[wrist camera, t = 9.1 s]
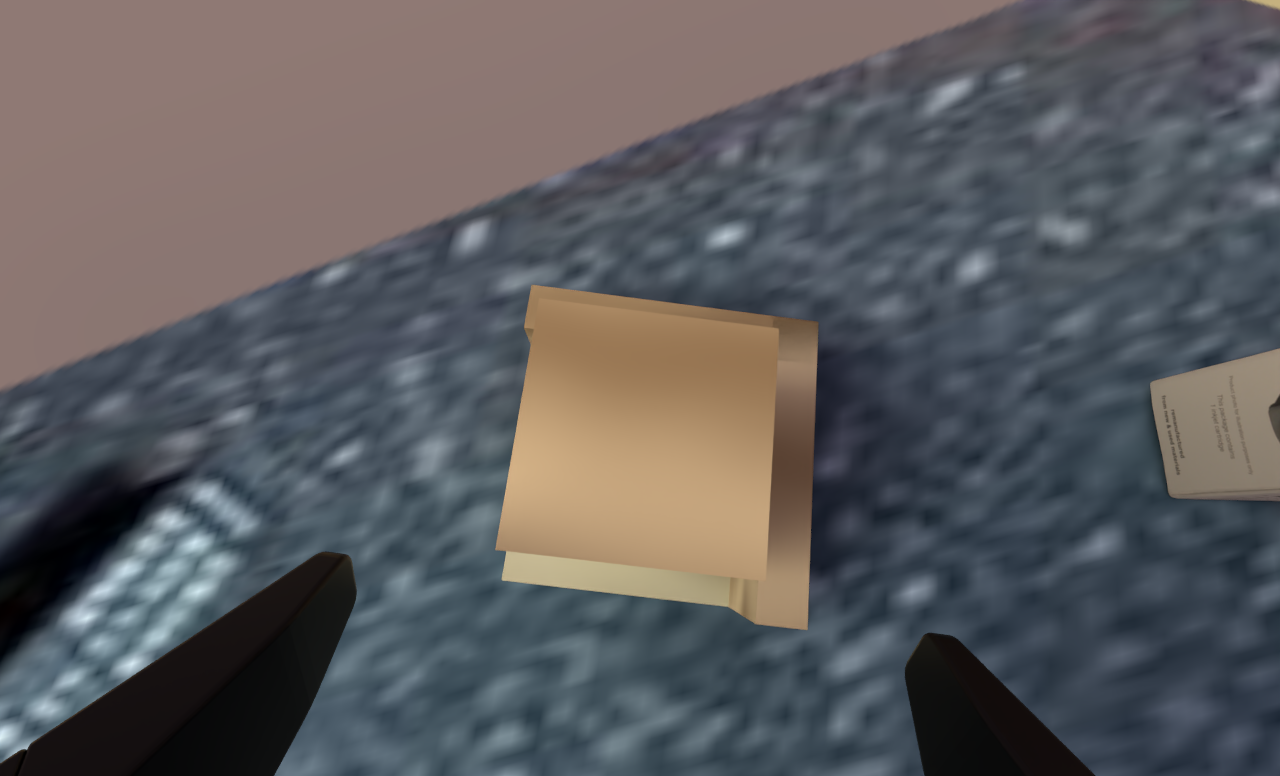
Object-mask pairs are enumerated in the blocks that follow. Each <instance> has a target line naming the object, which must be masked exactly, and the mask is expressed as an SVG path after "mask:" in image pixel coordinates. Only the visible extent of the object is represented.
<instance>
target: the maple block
mask: <svg viewBox="0 0 1280 776" xmlns="http://www.w3.org/2000/svg"><path fill="white" fill-rule="evenodd" d="M778 341H779V329H778V328H770V327H762V326H754V325H747V324H739V323H731V322H723V321H715V320H707V319H699V318H691V317H683V316H676V315H668V314H660V313H652V312H644V311H636V310H628V309H620V308H613V307H605V306H597V305H589V304H581V303H573V302H565V301H557V300H550V299H542V298H539V302H538V307H537V313H536V319H535V325H534V330H533V336H532V342H531V348H530V354H529V359H528V365H527V371H526V377H525V382H524V388H523V394H522V400H521V405H520V411H519V417H518V423H517V428H516V434H515V440H514V446H513V451H512V457H511V463H510V469H509V475H508V480H507V486H506V492H505V498H504V503H503V509H502V515H501V521H500V526H499V532H498V538H497V544H496V549H495V550H501V551H509V552H518V553H526V554H535V555H544V556H552V557H561V558H569V559H578V560H586V561H595V562H604V563H612V564H621V565H629V566H638V567H646V568H655V569H664V570H672V571H681V572H689V573H698V574H706V575H715V576H724V577H732V578H741V579H749V580H758V581H766V568H767V549H768V530H769V511H770V492H771V474H772V455H773V436H774V417H775V398H776V379H777V360H778Z"/></svg>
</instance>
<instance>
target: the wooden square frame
mask: <svg viewBox="0 0 1280 776" xmlns="http://www.w3.org/2000/svg"><path fill="white" fill-rule="evenodd" d="M539 298H542V299H550V300H557V301H565V302H573V303H581V304H589V305H597V306H605V307H613V308H620V309H628V310H636V311H644V312H652V313H660V314H668V315H676V316H683V317H691V318H699V319H707V320H715V321H723V322H731V323H739V324H747V325H754V326H762V327H770V328H778V329H779V341H778V360H777V379H776V398H775V417H774V436H773V455H772V474H771V492H770V511H769V530H768V549H767V568H766V581H758V580H749V579H741V578H732V577H724V576H715V575H706V574H698V573H689V572H681V571H672V570H664V569H655V568H646V567H638V566H629V565H621V564H612V563H604V562H595V561H586V560H578V559H569V558H561V557H552V556H544V555H535V554H526V553H518V552H509V551H507V552H506V558H505V564H504V570H503V575H502V580H504V581H513V582H521V583H530V584H538V585H547V586H555V587H564V588H572V589H581V590H589V591H598V592H606V593H615V594H623V595H632V596H640V597H649V598H657V599H666V600H674V601H683V602H691V603H700V604H708V605H717V606H726V607H729V608H731V609H733V610H734V611H736V612H737V613H739V614H741V615H742V616H744V617H745V618H747V619H748V620H750V621H752V622H753V623H755V624H759V625H768V626H777V627H785V628H794V629H802V630H807V627H808V599H809V571H810V543H811V515H812V487H813V459H814V431H815V403H816V375H817V347H818V322H815V321H807V320H800V319H792V318H784V317H776V316H769V315H761V314H753V313H745V312H738V311H730V310H722V309H714V308H707V307H699V306H691V305H684V304H676V303H668V302H660V301H653V300H645V299H637V298H629V297H622V296H614V295H606V294H598V293H591V292H583V291H575V290H567V289H560V288H552V287H544V286H536V285H532V286H531V292H530V298H529V303H528V309H527V314H526V320H525V325H524V329H525V331H526V334H527V336H528V338H529V341H530V343H531V342H532V336H533V330H534V325H535V319H536V313H537V307H538V302H539Z"/></svg>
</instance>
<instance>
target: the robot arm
mask: <svg viewBox="0 0 1280 776" xmlns="http://www.w3.org/2000/svg"><path fill="white" fill-rule="evenodd" d="M356 594H357V589H356V583H355V577H354V571H353V565H352V560H351V558H350V557H349V556H348V555H346V554H341V553H334V552H321V553H318V554H316V555H314V556H313V557H311V558H310V559H308V560H307V561H305V562H304V563H302V564H301V565H299V566H298V567H296V568H295V569H293V570H292V571H290V572H289V573H287V574H286V575H284V576H283V577H281V578H280V579H278V580H277V581H275V582H274V583H272V584H271V585H269V586H268V587H266V588H265V589H263V590H262V591H260V592H259V593H257V594H256V595H254V596H253V597H251V598H250V599H248V600H247V601H245V602H244V603H242V604H240V605H239V606H237V607H236V608H234V609H233V610H231V611H230V612H228V613H227V614H225V615H224V616H222V617H221V618H219V619H218V620H216V621H215V622H213V623H212V624H210V625H209V626H207V627H206V628H204V629H203V630H201V631H200V632H198V633H197V634H195V635H194V636H192V637H191V638H189V639H188V640H186V641H185V642H183V643H182V644H180V645H179V646H177V647H176V648H174V649H173V650H171V651H170V652H168V653H167V654H165V655H164V656H162V657H161V658H159V659H158V660H156V661H155V662H153V663H151V664H150V665H148V666H147V667H145V668H144V669H142V670H141V671H139V672H138V673H136V674H135V675H133V676H132V677H130V678H129V679H127V680H126V681H124V682H123V683H121V684H120V685H118V686H117V687H115V688H114V689H112V690H111V691H109V692H108V693H106V694H105V695H103V696H102V697H100V698H99V699H97V700H96V701H94V702H93V703H91V704H90V705H88V706H87V707H85V708H84V709H82V710H81V711H79V712H78V713H76V714H75V715H73V716H72V717H70V718H69V719H67V720H65V721H64V722H62V723H61V724H59V725H58V726H56V727H55V728H53V729H52V730H50V731H49V732H47V733H46V734H44V735H43V736H41V737H40V738H38V739H37V740H35V741H34V742H32V743H31V744H30V745H29V747H28V749H27V750H26V749H23V750H20V751H18V752H17V753H15V754H14V755H12V756H11V757H9V758H8V759H6V760H5V761H3V762H2V763H0V776H274V775H275V773H276V771H277V769H278V767H279V766H280V764H281V762H282V760H283V758H284V756H285V755H286V753H287V751H288V749H289V747H290V745H291V743H292V742H293V740H294V738H295V736H296V734H297V732H298V731H299V729H300V727H301V725H302V723H303V721H304V719H305V717H306V715H307V713H308V712H309V710H310V708H311V706H312V703H313V701H314V699H315V697H316V694H317V692H318V690H319V688H320V685H321V683H322V680H323V678H324V676H325V673H326V671H327V669H328V666H329V664H330V661H331V659H332V657H333V654H334V652H335V650H336V647H337V645H338V642H339V640H340V638H341V635H342V633H343V631H344V628H345V626H346V623H347V621H348V619H349V616H350V614H351V612H352V609H353V607H354V604H355V600H356ZM905 680H906V686H907V691H908V696H909V701H910V706H911V711H912V716H913V721H914V726H915V731H916V736H917V741H918V746H919V751H920V756H921V761H922V766H923V771H924V775H925V776H1095V775H1094V774H1093V773H1092V772H1091V771H1090V770H1089V769H1088V768H1087V767H1086V766H1085V765H1084V764H1083V763H1082V762H1081V761H1080V760H1079V759H1078V758H1077V757H1076V756H1075V755H1074V754H1073V753H1072V752H1071V751H1070V750H1069V749H1068V748H1067V747H1066V746H1065V745H1064V744H1063V743H1062V742H1061V741H1060V740H1059V739H1058V738H1057V737H1056V736H1055V735H1054V734H1053V733H1052V732H1051V731H1050V730H1049V729H1048V728H1047V727H1046V726H1045V725H1044V724H1043V723H1042V722H1041V721H1040V720H1039V719H1038V718H1037V717H1036V716H1035V715H1034V714H1033V713H1032V712H1031V711H1030V710H1029V709H1028V708H1027V707H1026V706H1025V705H1024V704H1023V703H1022V702H1021V701H1020V700H1019V699H1018V698H1017V697H1016V696H1015V695H1014V694H1013V693H1012V692H1011V691H1010V690H1009V689H1008V688H1007V687H1006V686H1004V685H1003V684H1002V683H1001V682H1000V681H999V680H998V679H997V678H996V677H995V676H994V675H993V674H992V673H991V672H990V671H989V670H988V669H987V668H986V667H985V666H984V665H983V664H982V663H981V662H980V661H979V660H978V659H977V658H976V657H975V656H974V655H973V654H972V653H971V652H970V651H969V650H968V649H967V648H966V647H965V646H964V645H963V644H962V643H961V642H960V641H959V640H958V639H956V638H955V637H953V636H950V635H944V634H937V633H927V634H925V635H924V636H923V637H922V638H921V640H920V642H919V643H918V645H917V647H916V648H915V650H914V651H913V653H912V655H911V656H910V658H909V660H908V661H907V664H906V667H905Z"/></svg>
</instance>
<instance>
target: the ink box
mask: <svg viewBox="0 0 1280 776" xmlns="http://www.w3.org/2000/svg"><path fill="white" fill-rule="evenodd" d="M1150 389H1151V398H1152V407H1153V412H1154V417H1155V423H1156V428H1157V433H1158V437H1159V442H1160V447H1161V452H1162V457H1163V462H1164V469H1165V475H1166V480H1167V487H1168V493H1169V495H1170V496H1171V497H1173V498H1178V499H1211V500H1259V501H1280V349H1276V350H1272V351H1268V352H1264V353H1260V354H1256V355H1253V356H1249V357H1245V358H1241V359H1237V360H1233V361H1229V362H1225V363H1221V364H1217V365H1213V366H1209V367H1205V368H1202V369H1198V370H1194V371H1190V372H1186V373H1182V374H1178V375H1174V376H1171V377H1167V378H1163V379H1159V380H1155V381H1153V382H1151V384H1150Z"/></svg>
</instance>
